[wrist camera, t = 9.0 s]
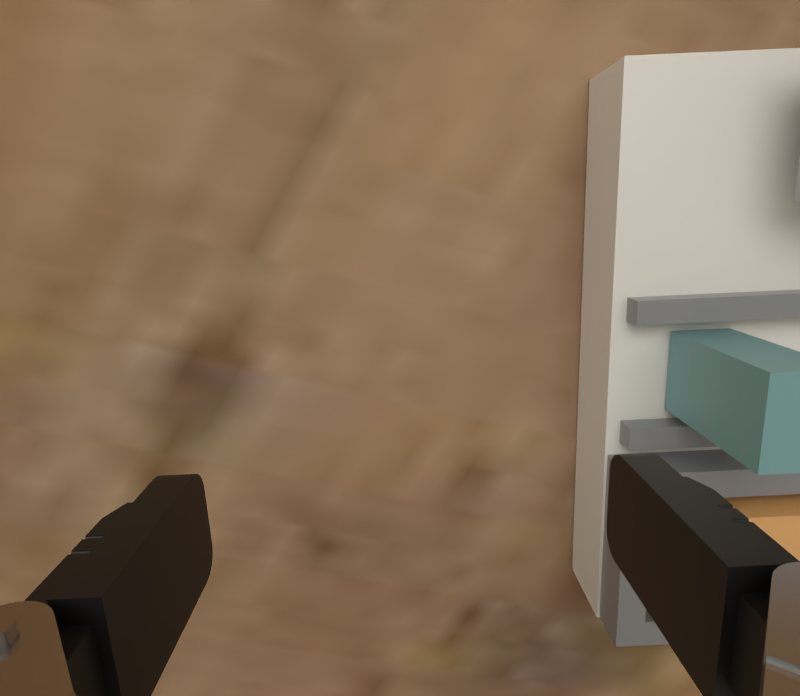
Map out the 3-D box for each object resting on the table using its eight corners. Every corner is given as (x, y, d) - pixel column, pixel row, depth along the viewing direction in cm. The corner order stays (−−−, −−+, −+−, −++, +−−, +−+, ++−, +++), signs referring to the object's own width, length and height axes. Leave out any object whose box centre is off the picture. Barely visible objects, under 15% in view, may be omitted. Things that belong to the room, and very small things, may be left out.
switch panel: (980, 61, 19) (1156, 16, 15) (885, 553, 24) (997, 630, 20) (589, 79, 19) (648, 39, 15) (572, 568, 24) (612, 649, 20)
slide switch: (729, 328, 18) (849, 369, 14) (721, 406, 19) (834, 471, 14) (670, 330, 18) (770, 372, 14) (664, 408, 19) (757, 475, 14)
